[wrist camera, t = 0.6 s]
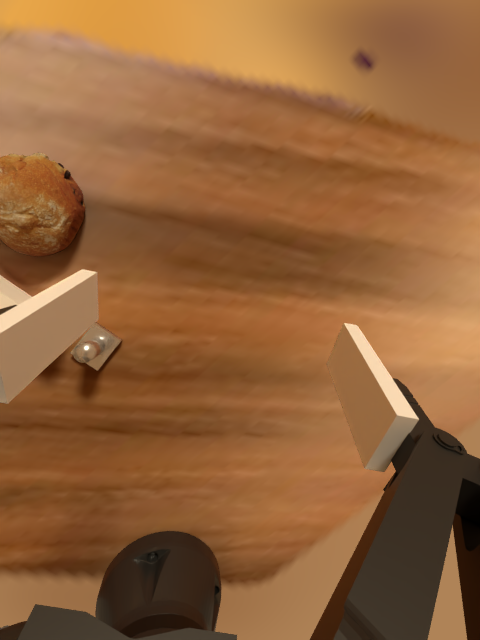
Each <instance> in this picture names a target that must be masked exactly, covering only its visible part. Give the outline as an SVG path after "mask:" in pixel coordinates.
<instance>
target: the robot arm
mask: <svg viewBox="0 0 480 640" xmlns="http://www.w3.org/2000/svg"><path fill="white" fill-rule="evenodd" d="M98 319H99V318H98V282H97V272H93V271H88V270H83V269H82V270H80V271H78V272H77V273H75V274H73V275H71V276H69V277H68V278H66V279H64V280H62V281H60V282H59V283H57V284H55V285H53V286H51V287H50V288H48V289H46V290H44V291H42V292H41V293H39V294H37V295H35V296H33V297H32V298H30V299H28V300H26V301H24V302H23V303H21V304H19V305H13V306H9V307H6V308H2V309H0V402H2V403H7V404H8V403H9V402H10V401H11V400H12V399H13V398H14V397H15V396H16V395H17V394H19V393H20V392H21V391H22V390H23V389H24V388H25V387H26V386H27V385H28V384H29V383H30V382H31V381H33V380H34V379H35V378H36V377H37V376H38V375H39V374H40V373H41V372H42V371H43V370H44V369H45V368H47V367H48V366H49V365H50V364H51V363H52V362H53V361H54V360H55V359H56V358H57V357H58V356H59V355H61V354H62V353H63V352H64V351H65V350H66V349H67V348H68V347H69V346H70V345H71V344H72V343H73V342H75V341H76V340H77V339H78V338H79V337H80V336H81V335H82V334H83V333H84V332H85V331H86V330H87V329H89V328H90V327H91V326H92V325H93V324H94V323H95V322H96V321H97V320H98ZM327 367H328V369H329V372H330V375H331V378H332V380H333V383H334V386H335V389H336V391H337V394H338V397H339V400H340V402H341V405H342V408H343V411H344V413H345V416H346V419H347V422H348V424H349V427H350V430H351V433H352V435H353V438H354V441H355V444H356V446H357V449H358V452H359V455H360V457H361V460H362V463H363V466H364V468H365V469H370V470H375V471H381V472H385V470H386V469H387V467H388V466H389V464H390V463H391V461H392V463H393V465H394V468H395V470H396V472H395V473H394V475H393V476H392V478H391V479H390V481H389V482H388V484H387V485H386V486H385V488H384V489H383V490H384V491H385V492H384V494H383V496H382V498H381V500H380V502H379V504H378V506H377V508H376V510H375V512H374V514H373V516H372V518H371V520H370V522H369V523H368V525H367V528H366V530H365V531H364V533H363V535H362V537H361V540H360V541H359V543H358V545H357V548H356V550H355V551H354V553H353V555H352V557H351V559H350V561H349V563H348V565H347V567H346V569H345V571H344V573H343V575H342V577H341V579H340V581H339V583H338V585H337V587H336V589H335V591H334V593H333V595H332V597H331V599H330V601H329V603H328V605H327V607H326V609H325V611H324V613H323V615H322V617H321V619H320V621H319V623H318V625H317V626H316V629H315V630H314V633H313V634H312V636H311V638H310V640H427V639H428V635H429V630H430V625H431V621H432V616H433V612H434V607H435V602H436V598H437V593H438V589H439V584H440V579H441V575H442V570H443V565H444V561H445V556H446V552H447V547H448V542H449V538H450V533H451V529H452V524H453V531H454V538H455V546H456V553H457V562H458V569H459V577H460V585H461V593H462V601H463V609H464V616H465V624H466V633H467V640H480V459H479V458H476V457H474V456H472V455H469V454H467V452H466V450H465V448H464V446H463V445H462V444H461V443H460V442H459V441H458V440H457V439H456V438H455V437H453V436H452V435H450V434H449V433H447V432H445V431H443V430H441V429H438V428H435V427H434V425H433V424H432V423H431V421H430V420H429V418H428V417H427V415H426V414H425V413H424V411H423V410H422V408H421V407H420V405H418V403H417V401H416V400H415V398H413V395H412V394H411V393H410V391H409V390H408V388H407V387H406V386H405V385H403V384H402V383H401V382H400V381H399V380H398V379H394V378H392V377H391V376H390V374H389V373H388V371H387V370H386V368H385V367H384V365H383V364H382V362H381V361H380V359H379V358H378V356H377V355H376V353H375V352H374V350H373V348H372V347H371V345H370V344H369V342H368V341H367V339H366V338H365V336H364V335H363V333H362V332H361V330H360V329H359V327H358V326H357V325H352V324H347V323H343V325H342V328H341V330H340V333H339V335H338V338H337V340H336V342H335V345H334V347H333V350H332V352H331V355H330V357H329V359H328V362H327ZM220 601H221V581H220V573H219V567H218V563H217V560H216V558H215V556H214V554H213V552H212V551H211V550H210V548H209V547H208V546H207V545H206V544H205V543H204V542H202V541H201V540H200V539H198V538H196V537H194V536H192V535H189V534H186V533H182V532H175V531H165V532H158V533H154V534H150V535H147V536H144V537H142V538H140V539H138V540H136V541H134V542H133V543H131V544H130V545H128V546H127V547H126V548H124V549H123V550H122V551H121V552H120V553H119V554H118V555H117V556H116V557H115V558H114V560H113V561H112V562H111V564H110V565H109V567H108V569H107V571H106V573H105V575H104V578H103V581H102V584H101V587H100V591H99V595H98V598H97V604H96V618H95V617H93V616H92V615H90V614H88V613H87V612H82V611H76V610H69V609H62V608H56V607H50V606H43V605H37V604H36V605H35V606H34V608H33V610H32V612H31V614H30V616H29V618H28V620H27V621H24V622H21V623H17V624H14V625H11V626H4V627H2V628H0V640H237V635H233V634H227V633H220V632H215V628H216V623H217V617H218V612H219V607H220Z"/></svg>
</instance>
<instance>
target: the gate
mask: <svg viewBox="0 0 480 640" xmlns="http://www.w3.org/2000/svg"><path fill="white" fill-rule="evenodd" d="M30 298H32V296H30V295H29V294H27V293H26V292H24V291H23V290H21V289H20V288H18V287H17V286H15V285H14V284H12V283H11V282H9V281H8V280H6V279H5V278H4V277H2V276H1V275H0V309H2V308H6V307H9V306H13V305H19V304H21V303H23V302H24V301H26V300H28V299H30Z"/></svg>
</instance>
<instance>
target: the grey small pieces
mask: <svg viewBox="0 0 480 640" xmlns="http://www.w3.org/2000/svg"><path fill="white" fill-rule="evenodd" d="M121 341H122V339H120V338H119V337H117V336H116V335H115V334H113V333H112V332H110V331H109V330H107V329H106V328H104V327H103V326H101V325H100V324H99V323H97V322H95V323H94V324H93V325H92V326H91V327H90V329H89V330H88V331H87V333H86V334H85V335H84V336H83V338H82V339H81V340H80V341H79V343H78V344H77V345H76V346H75V348H74V349H73V350H72V351H71V354H73V356H74V358H75V359H76V360H77V361H78V362H81V363H86V364H88V365H89V366H91V367H92V368H94V369H95V370H97V371H98V370H99V369H100V368H101V366H102V365H103V364H104V363H105V361H106V360H107V359H108V358H109V356H110V355H111V354H112V352H113V351H114V350H115V349H116V347H117V346H118V345H119V343H120V342H121Z"/></svg>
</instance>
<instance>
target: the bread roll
mask: <svg viewBox="0 0 480 640" xmlns="http://www.w3.org/2000/svg"><path fill="white" fill-rule="evenodd" d="M70 175H71V174H70V172H69V171H68V170H66V169H64V167H63V165H61V164H60V163H58V164H57V163H56V162H55V161H54V160H53V161H50V160H49V158H48V156H47V155H45V154H43V153H34V154H33V155H32V156H24V155H21V156H19V155H16V154H9V155H8V156H3V157H0V239H1V240H2V241H3V242H4V243H5V244H6V245H7V246H8V247H10V248H11V249H13V250H15V251H17V252H20V253H22V254H25V255H31V256H46V255H51V254H54V253H57V252H59V251H61V250H63V249H65V248H66V247H68V246H69V245H70V244H71V242H72V241H73V239H74V237H75V236H76V233H77V232H78V230H79V228H80V226H81V224H82V221H83V219H84V213H85V204H84V201H83V194H82V191H81V190H80V188H79V187H78V185H77V184H76V182H75V181H74V179H73V178H72V177H71V176H70Z"/></svg>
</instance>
